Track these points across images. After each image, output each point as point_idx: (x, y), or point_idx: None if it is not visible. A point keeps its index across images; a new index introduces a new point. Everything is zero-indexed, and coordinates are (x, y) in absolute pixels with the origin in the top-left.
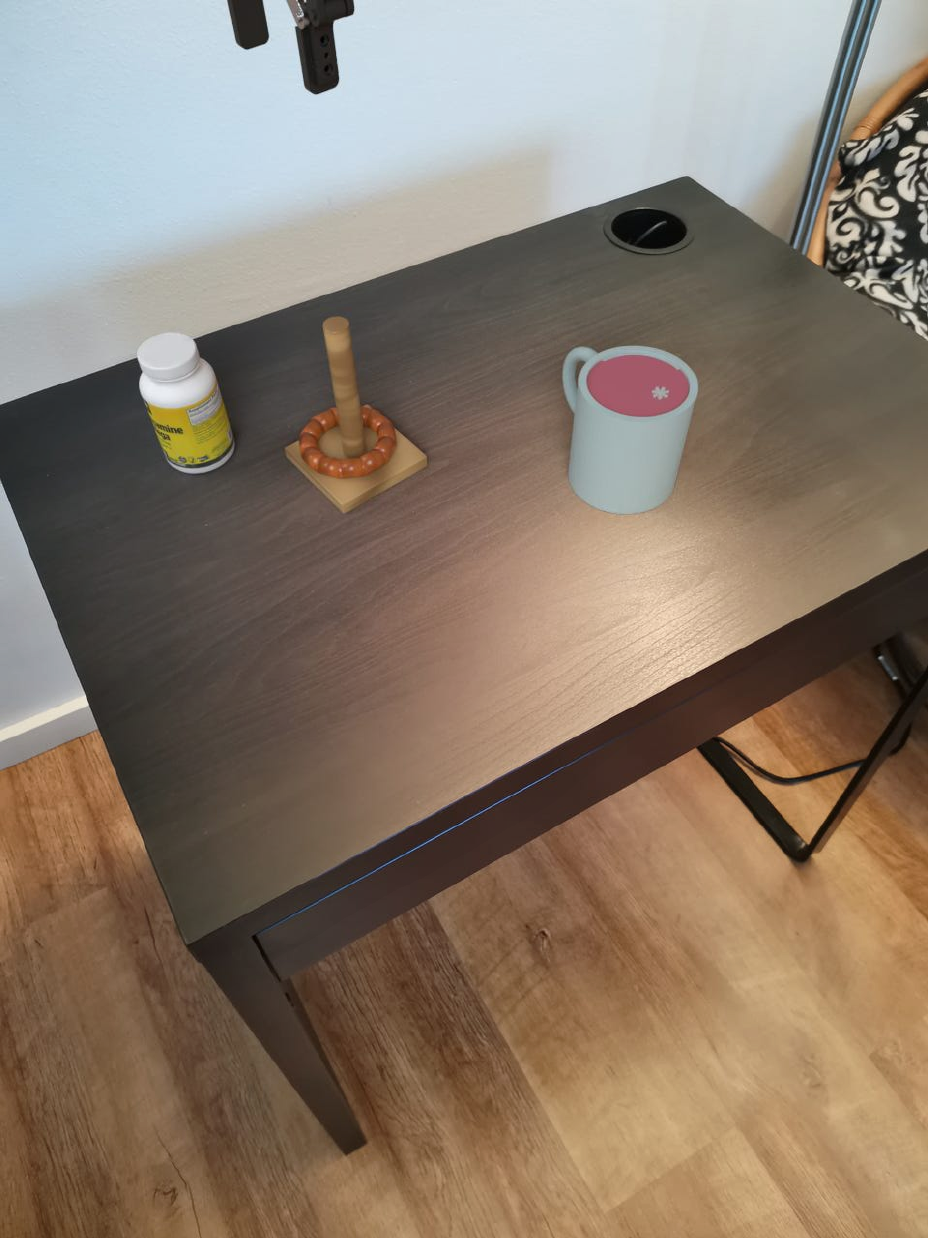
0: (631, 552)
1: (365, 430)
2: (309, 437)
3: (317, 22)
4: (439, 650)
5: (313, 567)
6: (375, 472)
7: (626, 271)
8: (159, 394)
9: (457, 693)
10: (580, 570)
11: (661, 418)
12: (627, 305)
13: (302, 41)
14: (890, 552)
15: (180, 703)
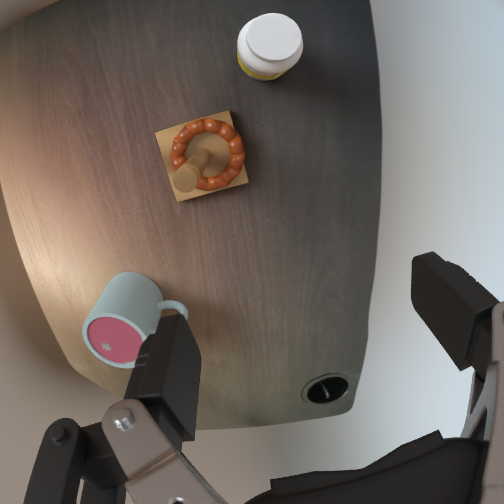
0: (83, 276)
1: (220, 171)
2: (214, 128)
3: (52, 425)
4: (49, 159)
5: (122, 102)
6: None
7: (300, 371)
8: (249, 24)
9: (28, 161)
10: (77, 248)
11: (84, 336)
12: (272, 361)
13: (141, 379)
14: (71, 361)
15: (70, 24)
